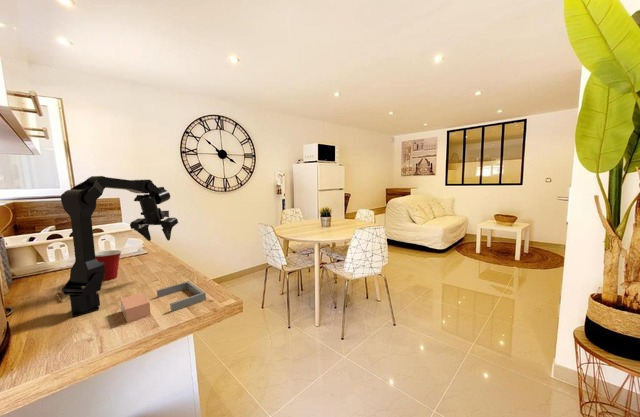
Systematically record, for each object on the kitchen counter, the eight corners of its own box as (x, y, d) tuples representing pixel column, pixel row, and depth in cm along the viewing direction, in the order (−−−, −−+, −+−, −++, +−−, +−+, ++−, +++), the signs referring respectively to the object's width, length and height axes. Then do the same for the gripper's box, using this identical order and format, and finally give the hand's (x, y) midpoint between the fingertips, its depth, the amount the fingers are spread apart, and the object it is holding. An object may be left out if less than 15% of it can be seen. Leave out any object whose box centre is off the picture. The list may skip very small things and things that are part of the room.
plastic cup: (130, 274, 116) (127, 249, 114) (104, 284, 105) (101, 256, 104) (113, 272, 119) (110, 247, 117) (86, 281, 108) (82, 254, 107)
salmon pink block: (127, 323, 76) (125, 309, 76) (121, 311, 83) (120, 298, 83) (150, 315, 81) (149, 302, 80) (143, 305, 88) (142, 292, 87)
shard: (61, 304, 90) (61, 299, 90) (38, 305, 90) (38, 300, 89) (87, 290, 101) (87, 286, 100) (67, 291, 100) (66, 287, 100)
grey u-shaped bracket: (171, 311, 82) (171, 304, 82) (157, 296, 93) (156, 290, 93) (206, 299, 90) (205, 292, 90) (189, 287, 101) (188, 281, 101)
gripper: (181, 201, 117) (188, 232, 122) (142, 202, 118) (152, 233, 124) (165, 210, 106) (174, 243, 112) (123, 211, 108) (135, 244, 113)
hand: (159, 240), depth 115 cm, fingers open, 9 cm apart
